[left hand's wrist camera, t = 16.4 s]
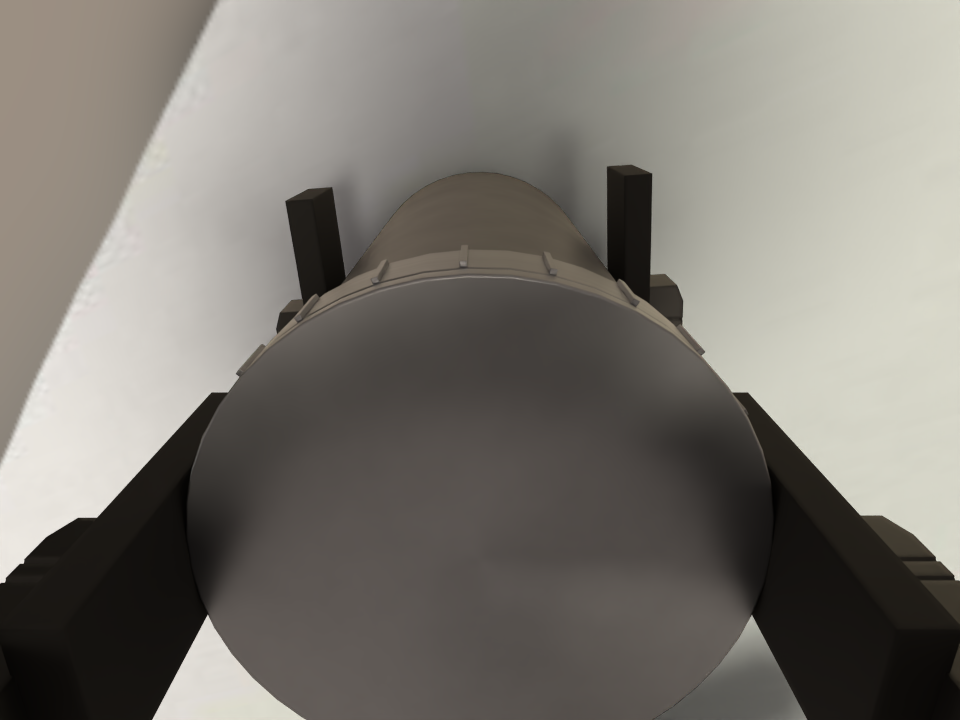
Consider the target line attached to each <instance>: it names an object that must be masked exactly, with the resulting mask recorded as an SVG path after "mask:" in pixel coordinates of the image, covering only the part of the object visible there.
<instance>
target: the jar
mask: <svg viewBox="0 0 960 720" xmlns="http://www.w3.org/2000/svg"><path fill="white" fill-rule="evenodd" d="M461 245H468V250H506V251H513V252H520V253H526V254H532V255H539V256H543V252H544V251H545V252H549V253H550V254H551V256H552V258H553V259H555V260H559V261H562V262H565V263H569V264H572V265H576V266H579V267H582V268H584V269H587V270H589V271H591V272H593V273H596V274H598V275H600V276H602V277H604V278H607V279H609V280H611V281H613V282H616V281H615V280H614V278H613V277H612V276H611V274H610V273H609V272H608V270H607V269H606V268H605V266H604V265H603V264H602V262H601V261H600V260H599V258H598V257H597V256H596V254H595V253H594V252H593V250H592V249H591V248H590V246H589V245H588V244H587V242H586V241H585V240H584V238H583V237H582V236H581V234H580V233H579V232H578V230H577V229H576V228H575V226H574V225H573V224H572V222H571V221H570V220H569V218H568V217H567V216H566V214H565V213H564V212H563V211H562V209H561V208H560V207H559V206H558V205H557V204H556V203H555V202H554V201H553V200H552V199H551V198H550V197H548V196H547V195H546V194H544V193H543V192H542V191H540V190H539V189H537V188H535V187H533V186H532V185H530V184H528V183H526V182H524V181H521V180H519V179H516V178H513V177H510V176H506V175H501V174H497V173H486V172H475V173H464V174H458V175H453V176H450V177H447V178H444V179H440V180H438V181H436V182H434V183H432V184H430V185H428V186H426V187H424V188H423V189H421V190H420V191H418V192H416V193H415V194H414V195H412V196H411V197H410V198H409V199H408V200H407V201H406V202H404V203H403V204H402V205H401V207H400V208H399V209H398V210H397V211H396V212H395V214H394V215H393V216H392V217H391V219H390V220H389V221H388V223H387V224H386V225H385V227H384V228H383V229H382V231H381V232H380V233H379V235H378V236H377V237H376V239H375V240H374V241H373V243H372V244H371V245H370V247H369V248H368V249H367V251H366V252H365V253H364V255H363V256H362V257H361V259H360V260H359V261H358V263H357V264H356V265H355V267H354V268H353V269H352V271H351V272H350V273H349V275H348V276H347V277H346V279H345V280H344V281H343V283H342V284H344V283H345V282H347V281H349V280H351V279H353V278H354V277H356V276H358V275H361V274H364V273H366V272H369V271H371V270H374V269H377V267H378V266H379V264H380V262H381V261H383V260H386V259H387V260H388V262H389V264H390V263H392V262H396V261H400V260H405V259H409V258H413V257H417V256H421V255H426V254H430V253H439V252H449V251H459V250H461ZM616 283H617V282H616ZM342 284H341V285H342Z"/></svg>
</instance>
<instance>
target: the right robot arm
mask: <svg viewBox="0 0 960 720" xmlns="http://www.w3.org/2000/svg"><path fill="white" fill-rule="evenodd" d="M285 202H286V208H287V213H288V219H289V225H290V231H291V236H292V242H293V248H294V254H295V259H296V265H297V271H298V277H299V282H300V288H301V294H302V299H301V300H291V302H290V303H289V304H288V305H287V306H286V307H285V308H284V309H283V310H282V311H281V312H280V314H279V319H278V323H277V328H276V330H277V334H278V333H279V332H280V331H281V330H282V329H283V328H284V327H285V326H286V325H287V324H288V323H289V322H290V321H291V320H292V319H293V318H294V317H295V316H296V315H297V313H298V312H299V311H300V310H301V309H302V308H303V306H304V305H305V304H306V303H307V302H308V300H309V299H310V298H311V297H312V296H314V295H315V294H317V295H318V296H319V298H320V297H321V296H323V295H324V294H325V293H327V292H329V291H331V290H333V289H334V288H336V287H338V286H340V285H341V284H342V283H343V281H344V280H345V279H346V277H345V270H344V263H343V257H342V250H341V243H340V237H339V230H338V223H337V216H336V210H335V203H334V196H333V189H332V187H330V188H316V189H308V190H306V191H304V192H302V193H300V194H298V195H296V196H294V197H292V198H290V199H289V200H287V201H285ZM651 208H652V173H649V172H647V171H645V170H642V169H640V168H638V167H635V166H633V165H622V166H608V167H607V258H608V272H609V273H610V274H611V276H612V277H613V278H614V280H615V281H616V282H617V281H618V280H619V279H620V280H622V281H624V282H625V283H626V285H627V286H628V287H629V288H630V290H631V291H632V292H633V293H634V294H635V295H637V296H638V297H640V298H641V299H643V300H644V301H646V302H647V303H649V304H650V305H651V306H652V307H653V308H655V309H656V310H657V311H658V312H659V313H661V314H662V315H663V316H664V317H665V318H666V319H668V320H669V321H670V322H671V323H672V324H674V326H675V327H677V326H678V325H679V324H681V325H682V317H683V299H682V297H681V294H680V292H679V289H678V287H677V285H676V284H675V283H674V282H673V281H672V280H671V279H670V278H669V277H668V276H667V275H666V274H658V275H650V260H651Z"/></svg>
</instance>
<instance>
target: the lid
mask: <svg viewBox="0 0 960 720" xmlns="http://www.w3.org/2000/svg"><path fill="white" fill-rule="evenodd" d="M704 353H705V351H704V350H703V349H702V347H701V346H700V345H699V344H698V343H697V342H696V341H695V340H694V339H693V337H692V336H691V335H690V334H689V333H688V332H687V331H686V330H685V328H684V327H683V326H682V325H681V324H679V325H678V326H677V327H675V326H674V324H672V323H671V322H670V321H669V320H668V319H666V318H665V317H664V316H663V315H662V314H661V313H659V312H658V311H657V310H656V309H655V308H653V307H652V306H651V305H650V304H649V303H647V302H646V301H644V300H643V299H641V298H640V297H638V296H637V295H635V294H634V293H633V292H632V291H631V290H630V288H629V287H628V286H627V285H626V283H625V282H624V281H622V280H620V279H619V280H618V281H617V283H616V282H613V281H611V280H609V279H607V278H604V277H602V276H600V275H598V274H596V273H593V272H591V271H589V270H587V269H584V268H582V267H579V266H576V265H572V264H569V263H565V262H562V261H559V260H555V259H553V258H552V256H551V254H550V253H549V252H545V251H544V252H543V256H539V255H532V254H526V253H520V252H513V251H506V250H468V245H461V250H459V251H449V252H439V253H430V254H426V255H421V256H417V257H413V258H409V259H405V260H400V261H396V262H392V263H390V264H389V262H388V260H387V259H386V260H383V261H381V262H380V264H379V266H378V267H377V269H374V270H371V271H369V272H366V273H364V274H361V275H358V276H356V277H354V278H353V279H351V280H349V281H347V282H345V283H344V284H342V285H340V286H338V287H336V288H334V289H333V290H331V291H329V292H327V293H325V294H324V295H323V296H321V297H320V298H319V296H318V295H317V294H315V295H314V296H312V297H311V298H310V299H309V300H308V302H307V303H306V304H305V305H304V306H303V308H302V309H301V310H300V311H299V312H298V313H297V315H296V316H295V317H294V318H293V319H292V320H291V321H290V322H289V323H288V324H287V325H286V326H285V327H284V328H283V329H282V330H281V331H280V332H279V333H278V334H277V335H276V336H275V337H274V338H273V339H272V340H271V341H270V342H269V344H268V345H267V346H264V345H263V344H261V345H260V346H259V348H258V349H257V350H256V351H255V352H254V353H253V354H252V355H251V357H250V358H249V359H248V360H247V361H246V362H245V363H244V364H243V366H242V367H241V368H240V369H239V370H238V371H237V373H236V374H237V375H238V376H240V377H239V379H238V380H237V381H236V383H235V384H234V385H233V387H232V388H231V390H230V391H229V392H228V394H227V395H226V396H225V398H224V399H223V400H222V402H221V403H220V404H219V406H218V408H217V410H216V412H215V414H214V416H213V417H212V419H211V421H210V423H209V425H208V427H207V429H206V431H205V432H204V434H203V436H202V439H201V442H200V445H199V448H198V451H197V454H196V457H195V460H194V463H193V466H192V469H191V475H190V481H189V487H188V493H187V500H186V540H187V547H188V552H189V558H190V563H191V569H192V573H193V577H194V580H195V583H196V586H197V590H198V593H199V596H200V599H201V601H202V603H203V605H204V607H205V609H206V611H207V613H208V615H209V618H210V620H211V622H212V624H213V626H214V628H215V629H216V631H217V632H218V634H219V635H220V637H221V638H222V640H223V641H224V643H225V644H226V646H227V647H228V649H229V650H230V652H231V653H232V654H233V656H234V657H235V658H236V659H237V660H238V661H239V663H240V664H241V665H242V666H243V667H244V668H245V669H246V671H247V672H248V673H249V674H250V675H251V676H252V677H253V678H254V679H255V680H256V681H257V682H258V683H259V684H260V685H261V686H263V687H264V688H265V689H266V690H267V691H268V692H269V693H270V694H271V695H273V696H274V697H275V698H276V699H277V700H279V701H280V702H281V703H283V704H284V705H286V706H287V707H288V708H290V709H291V710H293V711H294V712H295V713H297V714H298V715H300V716H301V717H302V718H304V719H306V720H653V719H655V718H656V717H658V716H659V715H661V714H662V713H664V712H665V711H667V710H669V709H670V708H672V707H673V706H674V705H676V704H677V703H678V702H679V701H681V700H682V699H683V698H684V697H685V696H687V695H688V694H689V693H690V692H692V691H693V690H694V689H695V688H696V687H698V686H699V685H700V684H701V682H702V681H703V680H704V679H705V678H706V677H707V676H708V675H709V674H710V673H711V672H712V671H713V670H714V669H715V668H716V667H717V666H718V665H719V664H720V663H721V661H722V660H723V659H724V657H725V656H726V655H727V653H728V652H729V650H730V649H731V648H732V646H733V645H734V644H735V642H736V641H737V640H738V638H739V637H740V635H741V633H742V631H743V630H744V628H745V626H746V624H747V622H748V621H749V619H750V617H751V615H752V613H753V612H754V609H755V607H756V604H757V602H758V599H759V596H760V594H761V591H762V588H763V586H764V583H765V580H766V575H767V570H768V565H769V560H770V555H771V549H772V543H773V530H774V507H773V497H772V486H771V481H770V477H769V473H768V469H767V465H766V461H765V458H764V454H763V450H762V448H761V446H760V443H759V441H758V439H757V437H756V434H755V432H754V430H753V427H752V425H751V423H750V421H749V418H748V417H747V415H748V412H747V410H746V409H745V408H744V406H743V405H742V404H741V403H740V402H739V401H738V399H737V398H736V397H735V396H734V395H733V393H732V392H731V390H730V389H729V387H728V386H727V385H726V384H725V383H724V381H723V380H722V379H721V378H720V377H719V376H718V375H717V373H716V372H715V371H714V370H713V369H712V368H711V366H710V365H709V364H708V363H707V362H706V361H705V360H704V358H703V357H702V356H701V355H702V354H704Z"/></svg>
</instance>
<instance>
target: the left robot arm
mask: <svg viewBox="0 0 960 720" xmlns="http://www.w3.org/2000/svg"><path fill="white" fill-rule="evenodd" d="M227 394H228V393H211V394H210V395H209V396H208V397H207V398H206V399H205V400H204V402H203V403H202V404H201V405H200V406H199V407H198V408H197V409H196V410H195V411H194V412H193V414H192V415H191V416H190V417H189V418H188V419H187V420H186V421H185V422H184V423H183V425H182V426H181V427H180V428H179V429H178V430H177V431H176V432H175V433H174V434H173V435H172V437H171V438H170V439H169V440H168V441H167V442H166V443H165V444H164V445H163V446H162V447H161V449H160V450H159V451H158V452H157V453H156V454H155V455H154V456H153V457H152V458H151V459H150V461H149V462H148V463H147V464H146V465H145V466H144V467H143V468H142V469H141V470H140V472H139V473H138V474H137V475H136V476H135V477H134V478H133V479H132V480H131V481H130V482H129V484H128V485H127V486H126V487H125V488H124V489H123V490H122V491H121V492H120V493H119V494H118V496H117V497H116V498H115V499H114V500H113V501H112V502H111V503H110V504H109V505H108V507H107V508H106V509H105V510H104V511H103V512H102V513H101V514H100V515H99V516H98V517H97V518H77V519H75V520H74V521H72V522H71V523H69V524H67V525H66V526H64V527H62V528H61V529H59V530H57V531H56V532H54V533H52V534H51V535H49V536H47V537H46V538H45V539H44V540H43V541H42V542H41V543H40V544H39V545H38V546H37V547H36V548H35V549H34V550H33V551H32V552H31V553H30V554H29V555H28V556H27V557H26V558H25V559H24V564H19V565H18V566H17V567H16V568H15V569H14V570H13V571H12V572H11V573H10V574H9V575H8V576H7V577H6V582H5V583H1V584H0V720H152V719H153V717H154V715H155V713H156V711H157V709H158V708H159V706H160V704H161V702H162V700H163V698H164V696H165V694H166V692H167V691H168V689H169V687H170V685H171V683H172V681H173V679H174V677H175V675H176V674H177V672H178V670H179V668H180V666H181V664H182V662H183V660H184V658H185V656H186V655H187V653H188V651H189V649H190V647H191V645H192V643H193V641H194V639H195V638H196V636H197V634H198V632H199V630H200V628H201V626H202V624H203V622H204V620H205V619H206V617H207V615H208V613H207V611H206V609H205V607H204V605H203V603H202V601H201V599H200V596H199V593H198V590H197V586H196V583H195V580H194V577H193V573H192V569H191V563H190V558H189V552H188V547H187V540H186V500H187V493H188V487H189V481H190V475H191V469H192V466H193V463H194V460H195V457H196V454H197V451H198V448H199V445H200V442H201V439H202V436H203V434H204V432H205V431H206V429H207V427H208V425H209V423H210V421H211V419H212V417H213V416H214V414H215V412H216V410H217V408H218V406H219V404H220V403H221V402H222V400H223V399H224V398H225V396H226V395H227ZM733 395H734V396H735V397H736V398H737V399H738V401H739V402H740V403H741V404H742V405H743V406H744V408H745V409H746V410H747V412H748V415H747V417H748V418H749V421H750V423H751V425H752V427H753V430H754V432H755V434H756V437H757V439H758V441H759V443H760V446H761V448H762V450H763V454H764V458H765V461H766V465H767V469H768V473H769V477H770V481H771V486H772V497H773V507H774V530H773V543H772V549H771V555H770V560H769V565H768V570H767V575H766V580H765V583H764V586H763V588H762V591H761V594H760V596H759V599H758V602H757V604H756V607H755V609H754V612H753V613H752V616H753V618H754V619H755V621H756V623H757V625H758V627H759V629H760V631H761V633H762V635H763V636H764V638H765V640H766V642H767V644H768V646H769V648H770V650H771V652H772V653H773V655H774V657H775V659H776V661H777V663H778V665H779V667H780V669H781V671H782V672H783V674H784V676H785V678H786V680H787V682H788V684H789V686H790V688H791V689H792V691H793V693H794V695H795V697H796V699H797V701H798V703H799V705H800V707H801V708H802V710H803V712H804V714H805V716H806V718H807V720H960V581H955V579H954V575H953V574H952V573H951V572H950V571H949V570H948V569H947V568H946V567H945V566H944V565H943V564H942V563H941V562H940V561H936V557H935V556H934V555H933V554H932V553H931V552H930V551H929V550H928V549H927V548H926V547H925V546H924V545H923V544H922V543H921V542H920V541H919V540H918V539H917V538H916V537H915V536H914V535H913V534H911V533H910V532H908V531H907V530H905V529H903V528H902V527H900V526H898V525H897V524H895V523H893V522H892V521H890V520H888V519H887V518H885V517H883V516H860V515H859V514H858V512H857V511H856V510H855V509H854V508H853V507H852V506H851V505H850V504H849V503H848V502H847V500H846V499H845V498H844V497H843V496H842V495H841V494H840V493H839V492H838V491H837V490H836V488H835V487H834V486H833V485H832V484H831V483H830V482H829V481H828V480H827V479H826V477H825V476H824V475H823V474H822V473H821V472H820V471H819V470H818V469H817V468H816V467H815V465H814V464H813V463H812V462H811V461H810V460H809V459H808V458H807V457H806V456H805V455H804V453H803V452H802V451H801V450H800V449H799V448H798V447H797V446H796V445H795V444H794V442H793V441H792V440H791V439H790V438H789V437H788V436H787V435H786V434H785V433H784V432H783V430H782V429H781V428H780V427H779V426H778V425H777V424H776V423H775V422H774V421H773V420H772V418H771V417H770V416H769V415H768V414H767V413H766V412H765V411H764V410H763V409H762V408H761V406H760V405H759V404H758V403H757V402H756V401H755V400H754V399H753V398H752V397H751V395H750V394H749V393H733Z"/></svg>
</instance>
